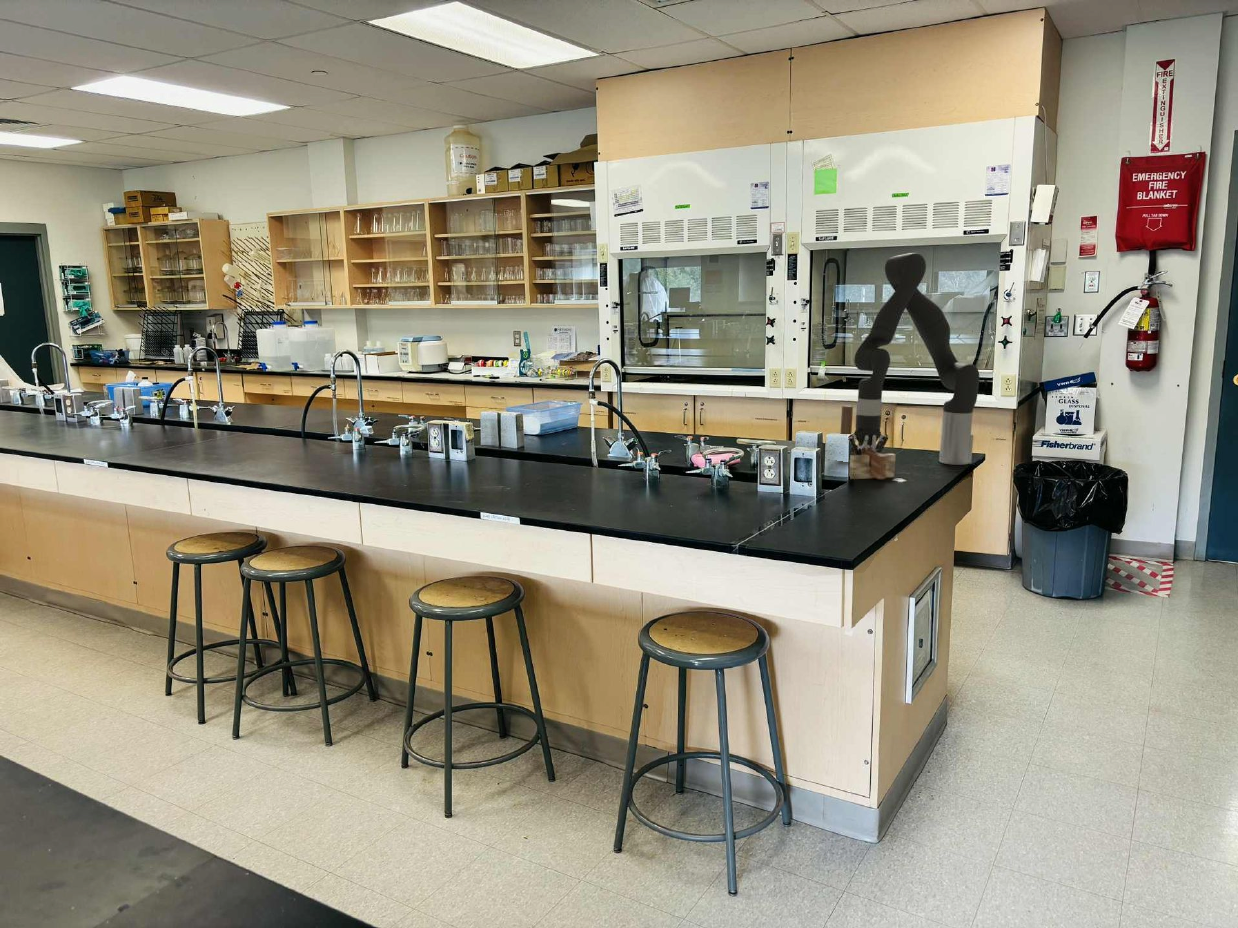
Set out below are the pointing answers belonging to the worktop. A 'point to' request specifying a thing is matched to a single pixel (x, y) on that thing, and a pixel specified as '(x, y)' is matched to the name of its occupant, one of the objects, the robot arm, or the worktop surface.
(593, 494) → the worktop surface
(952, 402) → the robot arm
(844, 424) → the wooden block
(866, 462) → the maple plate
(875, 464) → the cherry plate
